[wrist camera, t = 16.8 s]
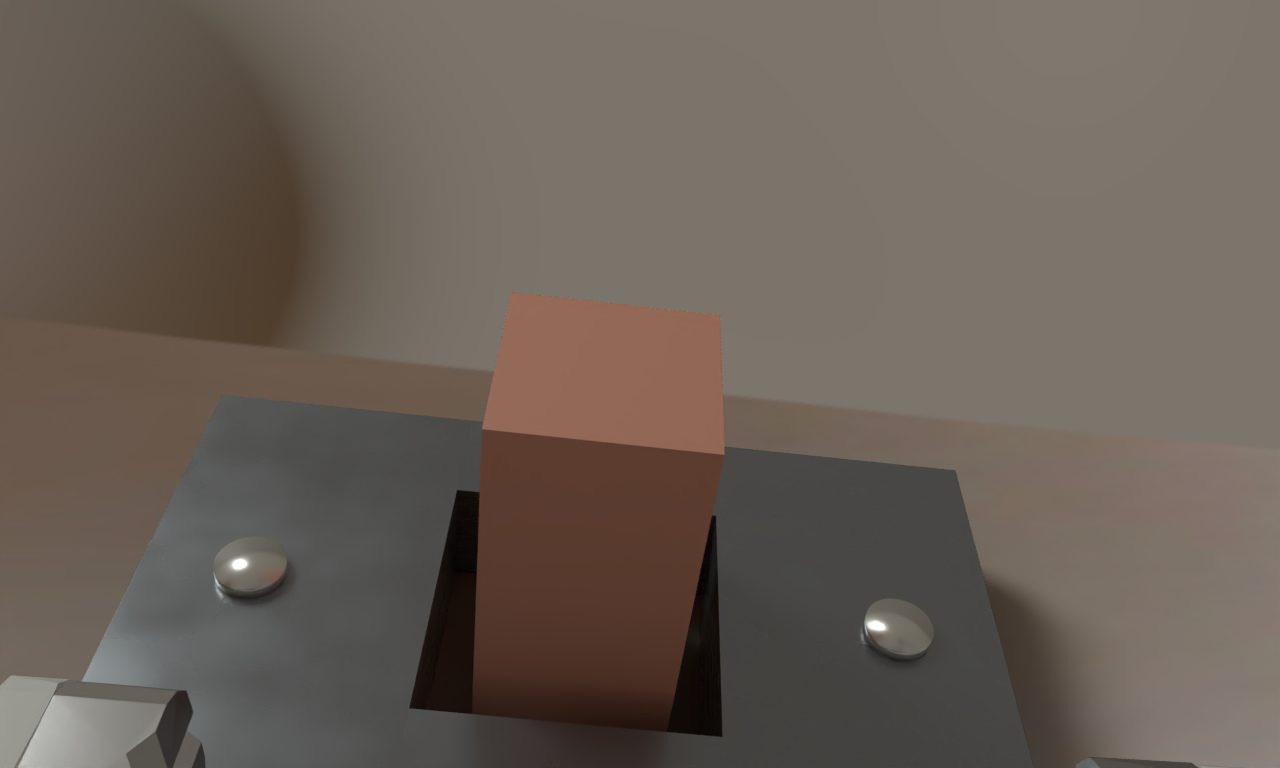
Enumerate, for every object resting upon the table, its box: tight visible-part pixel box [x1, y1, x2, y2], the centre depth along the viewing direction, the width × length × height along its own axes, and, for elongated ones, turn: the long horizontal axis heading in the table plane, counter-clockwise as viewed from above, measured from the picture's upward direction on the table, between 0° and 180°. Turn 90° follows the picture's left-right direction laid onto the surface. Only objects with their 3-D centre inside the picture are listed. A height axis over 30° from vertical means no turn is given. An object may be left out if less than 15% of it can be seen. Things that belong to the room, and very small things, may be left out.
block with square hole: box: [82, 395, 1034, 768], centre depth 28 cm, size 20×12×3 cm, turn 88°
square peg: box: [472, 292, 725, 732], centre depth 26 cm, size 4×4×10 cm
